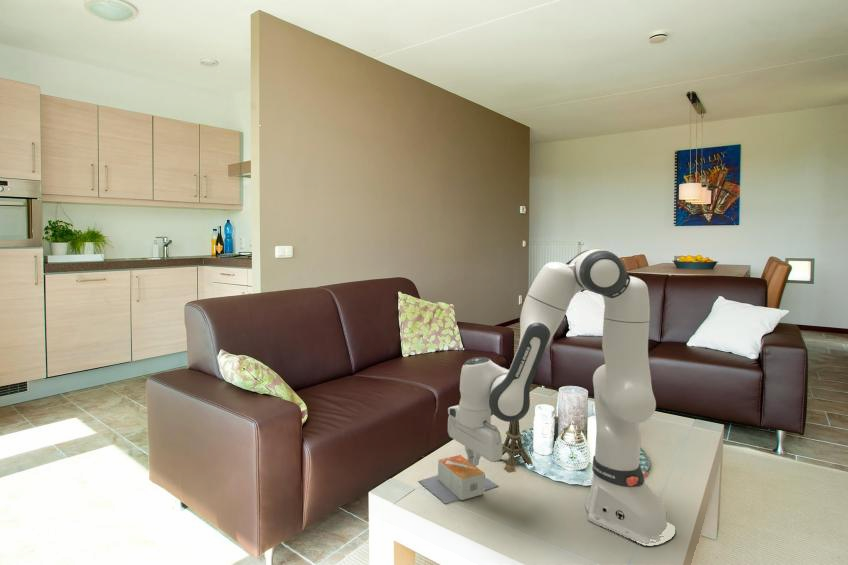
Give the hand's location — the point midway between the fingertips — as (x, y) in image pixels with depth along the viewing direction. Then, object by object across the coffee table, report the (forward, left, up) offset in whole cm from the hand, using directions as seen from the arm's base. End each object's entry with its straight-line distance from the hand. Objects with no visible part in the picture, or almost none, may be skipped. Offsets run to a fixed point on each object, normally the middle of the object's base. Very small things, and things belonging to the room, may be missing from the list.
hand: (473, 463), depth 136 cm
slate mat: (+8, -1, -10) cm, 12 cm away
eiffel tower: (+10, -25, -10) cm, 29 cm away
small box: (-1, 0, -6) cm, 6 cm away
